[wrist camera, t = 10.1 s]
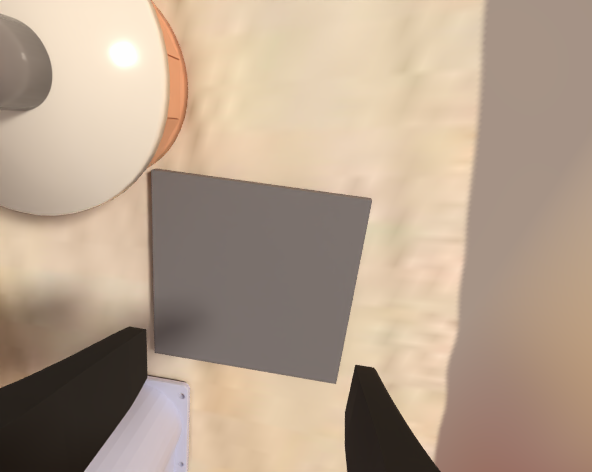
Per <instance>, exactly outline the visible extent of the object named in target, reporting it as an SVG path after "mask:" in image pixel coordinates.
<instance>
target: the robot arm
mask: <svg viewBox="0 0 592 472" xmlns="http://www.w3.org/2000/svg"><path fill="white" fill-rule="evenodd" d="M181 393H182V394H184V395H182V394H181ZM189 407H190V387H189V385H188V384H187V383H185V382H180V381H175V380H169V379H163V378H158V377H152V376H147V344H146V329H140V328H134V327H127V328H125V329H123V330H121V331H119V332H117V333H115V334H113V335H111V336H109V337H107V338H105V339H103V340H101V341H99V342H97V343H95V344H93V345H91V346H90V347H88V348H86V349H84V350H82V351H80V352H78V353H76V354H74V355H72V356H70V357H68V358H66V359H64V360H62V361H60V362H58V363H56V364H53V365H51V366H49V367H47V368H45V369H43V370H41V371H39V372H36V373H34V374H32V375H30V376H28V377H26V378H23V379H21V380H19V381H17V382H14V383H12V384H9V385H7V386H5V387H2V388H0V472H188V451H189ZM345 452H346V463H347V472H440V471H439V469H438V468H437V466H436V465H435V464H434V462H433V461H432V460H431V458H430V457H429V456H428V454H427V453H426V451H425V450H424V449H423V447H422V446H421V444H420V443H419V441H418V440H417V439H416V437H415V436H414V434H413V433H412V431H411V429H410V428H409V426H408V425H407V423H406V422H405V420H404V418H403V417H402V415H401V414H400V412H399V410H398V409H397V407H396V405H395V404H394V402H393V400H392V399H391V397H390V395H389V393H388V392H387V390H386V388H385V386H384V384H383V383H382V381H381V379H380V377H379V375H378V373H377V371H376V370H375V369H374V368H372V367H366V366H360V365H355V369H354V373H353V378H352V383H351V387H350V392H349V397H348V401H347V406H346V411H345Z"/></svg>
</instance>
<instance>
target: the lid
mask: <svg viewBox="0 0 592 472" xmlns="http://www.w3.org/2000/svg"><path fill="white" fill-rule="evenodd" d="M169 100H170V73H169V64H168V55H167V50H166V46H165V41H164V37H163V32H162V29H161V26H160V23H159V20H158V17H157V14H156V11H155V8H154V6H153V4H152V2H151V0H0V206H3V207H5V208H8V209H12V210H15V211H19V212H22V213H28V214H34V215H46V216H58V215H66V214H73V213H77V212H80V211H84V210H88V209H91V208H94V207H97V206H99V205H102V204H104V203H106V202H108V201H110V200H112V199H114V198H116V197H117V196H119V195H120V194H122V193H123V192H125V191H126V190H127V189H128V188H129V187H130V186H131V185H132V184H134V183H135V182H136V181H137V180H138V178H139V177H140V176H141V175H142V173H143V172H144V171H145V170H146V169H147V167H148V165H149V164H150V162H151V160H152V158H153V157H154V155H155V153H156V151H157V148H158V146H159V144H160V141H161V139H162V136H163V132H164V128H165V124H166V121H167V115H168V107H169Z"/></svg>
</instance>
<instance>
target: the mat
mask: <svg viewBox="0 0 592 472" xmlns="http://www.w3.org/2000/svg"><path fill="white" fill-rule="evenodd" d="M151 178H152V232H153V285H154V339H155V353H159V354H165V355H171V356H176V357H182V358H188V359H194V360H200V361H206V362H211V363H217V364H223V365H229V366H235V367H240V368H246V369H252V370H258V371H264V372H269V373H275V374H281V375H287V376H293V377H299V378H304V379H310V380H316V381H322V382H328V383H333V384H336V381H337V376H338V371H339V366H340V361H341V356H342V351H343V346H344V341H345V335H346V330H347V325H348V320H349V315H350V310H351V305H352V300H353V295H354V290H355V285H356V280H357V275H358V269H359V264H360V259H361V254H362V249H363V244H364V239H365V234H366V229H367V224H368V219H369V214H370V209H371V203H372V199H371V198H365V197H357V196H350V195H343V194H336V193H329V192H321V191H314V190H307V189H300V188H292V187H285V186H278V185H271V184H263V183H256V182H249V181H242V180H234V179H227V178H220V177H213V176H206V175H198V174H191V173H184V172H177V171H169V170H162V169H153V170H151Z"/></svg>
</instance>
